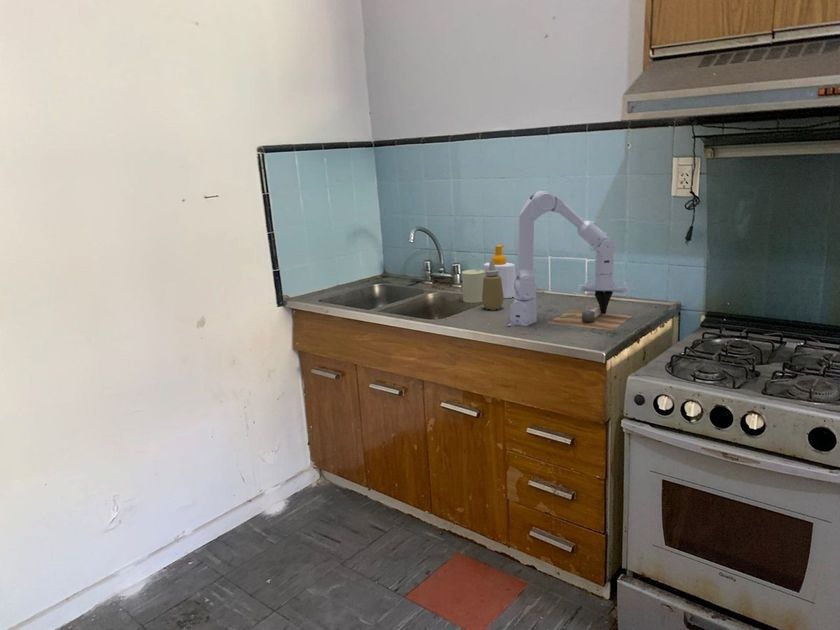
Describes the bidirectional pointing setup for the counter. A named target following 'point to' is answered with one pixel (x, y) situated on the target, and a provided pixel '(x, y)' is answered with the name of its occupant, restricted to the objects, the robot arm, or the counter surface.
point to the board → (600, 322)
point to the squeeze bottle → (492, 289)
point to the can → (472, 285)
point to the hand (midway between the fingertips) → (603, 313)
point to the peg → (591, 315)
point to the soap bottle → (503, 272)
